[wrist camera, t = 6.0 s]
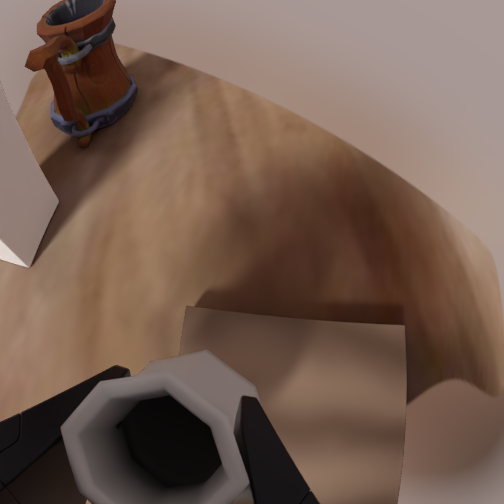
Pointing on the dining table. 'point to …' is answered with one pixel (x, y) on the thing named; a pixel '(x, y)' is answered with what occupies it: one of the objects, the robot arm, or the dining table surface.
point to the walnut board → (320, 394)
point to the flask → (161, 435)
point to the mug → (82, 67)
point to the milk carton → (21, 193)
